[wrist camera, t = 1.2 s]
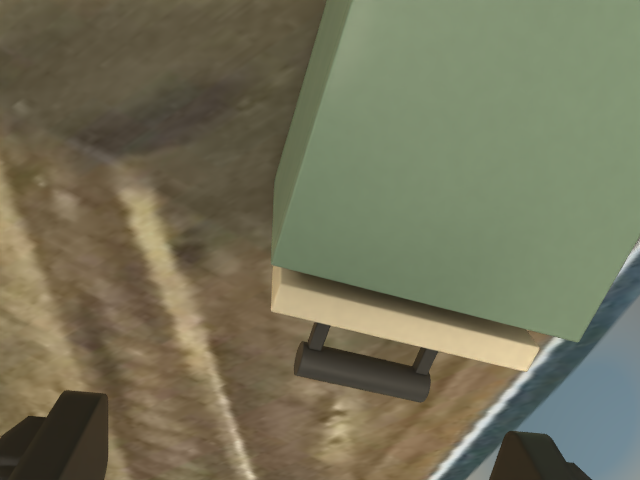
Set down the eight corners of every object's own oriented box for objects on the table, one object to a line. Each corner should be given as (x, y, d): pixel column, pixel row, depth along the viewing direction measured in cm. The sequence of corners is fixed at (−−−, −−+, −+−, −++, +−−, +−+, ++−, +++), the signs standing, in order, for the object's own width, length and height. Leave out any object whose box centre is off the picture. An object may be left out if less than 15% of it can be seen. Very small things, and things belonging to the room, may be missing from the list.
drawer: (433, 348, 30) (482, 455, 22) (250, 305, 28) (240, 406, 21) (587, 15, 23) (723, 16, 16) (363, -69, 21) (405, -110, 14)
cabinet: (486, 240, 28) (578, 343, 19) (273, 180, 26) (270, 265, 17) (625, -59, 23) (837, -104, 14) (374, -162, 21) (440, -289, 12)
